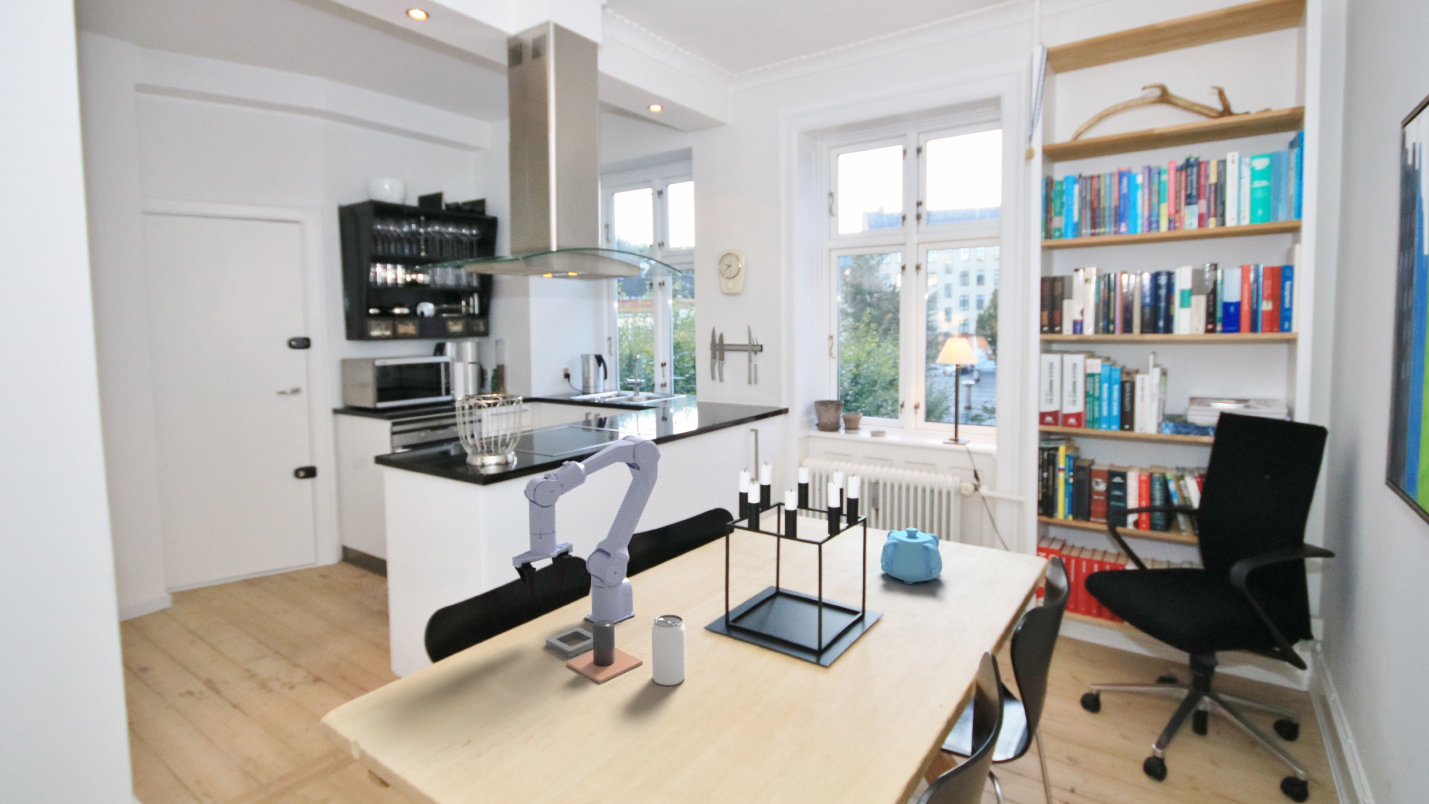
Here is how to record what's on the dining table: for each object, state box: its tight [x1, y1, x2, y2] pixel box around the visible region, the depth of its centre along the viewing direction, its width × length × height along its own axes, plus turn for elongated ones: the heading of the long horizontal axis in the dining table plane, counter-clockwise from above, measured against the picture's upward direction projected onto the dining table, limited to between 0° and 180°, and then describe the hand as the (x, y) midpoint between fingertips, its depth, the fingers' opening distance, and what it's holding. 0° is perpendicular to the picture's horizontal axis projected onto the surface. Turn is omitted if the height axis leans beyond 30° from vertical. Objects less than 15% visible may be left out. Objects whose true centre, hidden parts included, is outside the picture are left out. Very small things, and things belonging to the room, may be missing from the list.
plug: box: [592, 620, 616, 667], centre depth 146 cm, size 4×4×8 cm
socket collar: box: [545, 626, 593, 659], centre depth 155 cm, size 9×9×2 cm
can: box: [651, 614, 686, 687], centre depth 140 cm, size 6×6×12 cm
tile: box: [566, 647, 643, 684], centre depth 146 cm, size 11×11×1 cm
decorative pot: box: [880, 527, 943, 585], centre depth 195 cm, size 16×16×14 cm
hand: (544, 590), depth 160 cm, fingers open, 7 cm apart
